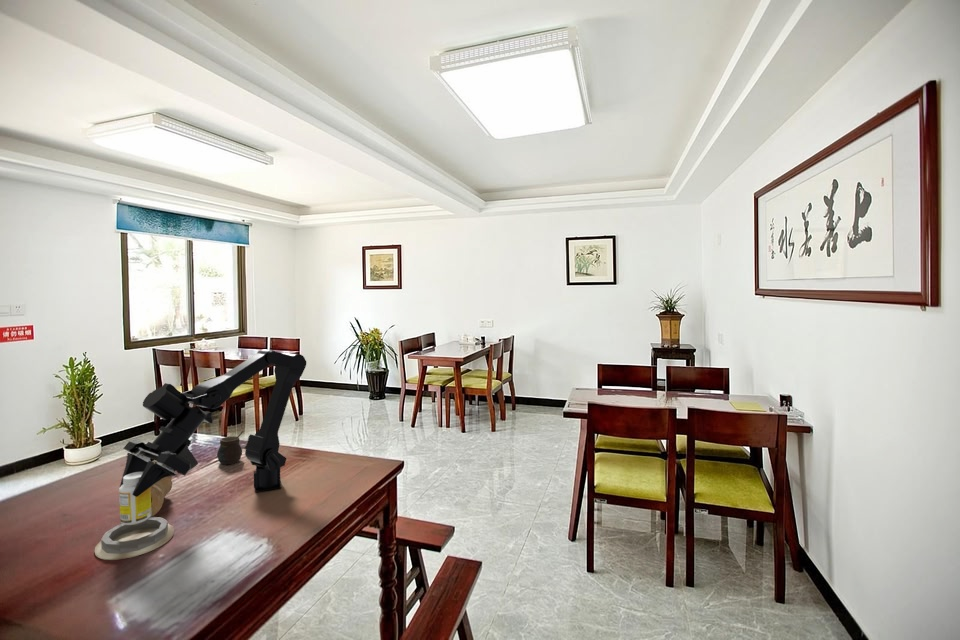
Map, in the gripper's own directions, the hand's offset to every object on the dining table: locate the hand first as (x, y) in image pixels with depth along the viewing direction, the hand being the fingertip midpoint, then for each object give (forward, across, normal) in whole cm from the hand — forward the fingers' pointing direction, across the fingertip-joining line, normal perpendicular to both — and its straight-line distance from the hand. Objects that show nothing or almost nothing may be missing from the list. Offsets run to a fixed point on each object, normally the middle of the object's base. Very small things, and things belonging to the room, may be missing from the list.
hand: (127, 492), depth 98 cm
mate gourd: (-19, +27, -37) cm, 49 cm away
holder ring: (+8, 0, -9) cm, 12 cm away
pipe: (+1, +15, -16) cm, 22 cm away
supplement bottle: (+4, 0, -6) cm, 7 cm away
